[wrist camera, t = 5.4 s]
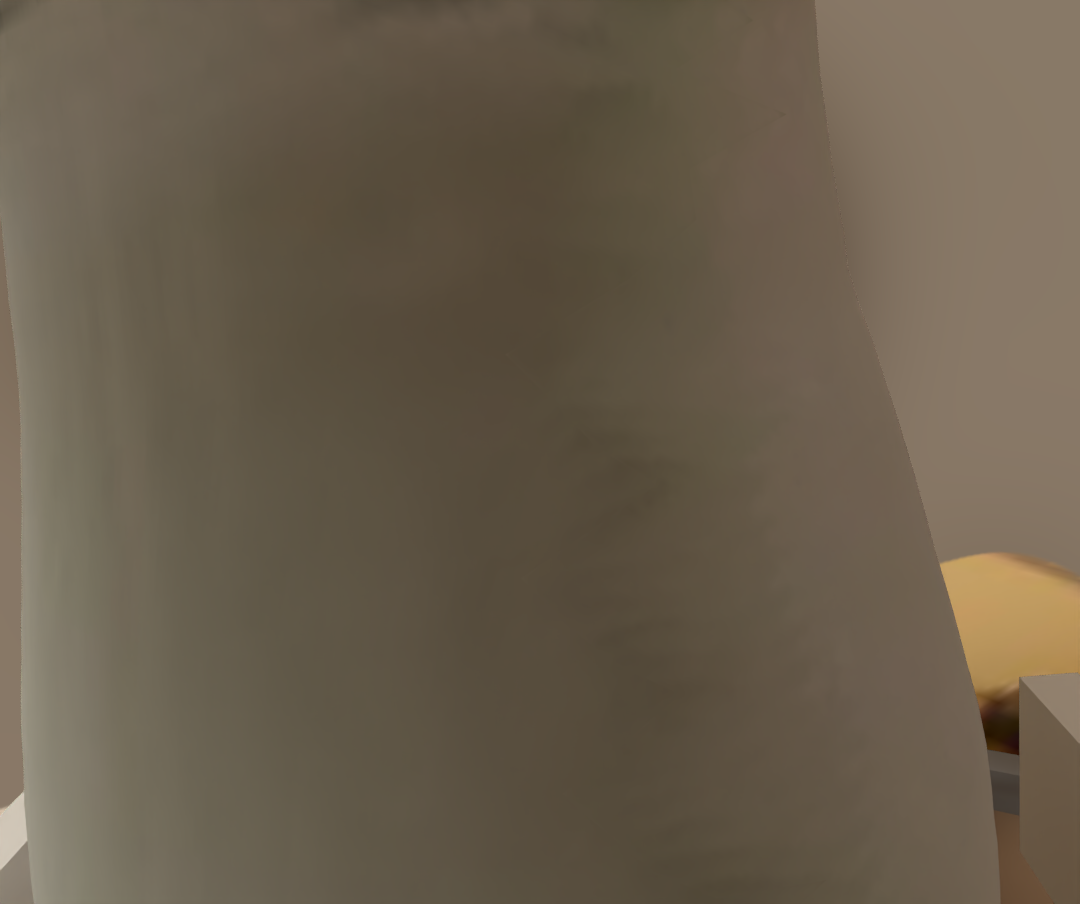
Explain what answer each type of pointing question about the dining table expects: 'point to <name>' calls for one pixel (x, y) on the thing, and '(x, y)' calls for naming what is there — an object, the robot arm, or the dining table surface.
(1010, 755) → the socket board
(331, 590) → the glass bottle
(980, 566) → the dining table surface
